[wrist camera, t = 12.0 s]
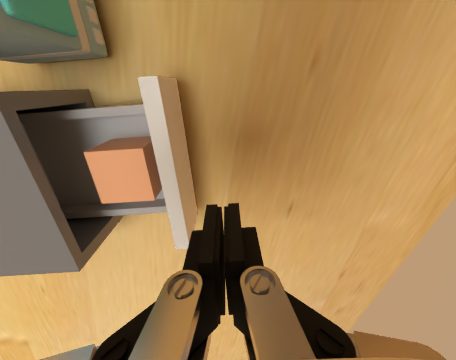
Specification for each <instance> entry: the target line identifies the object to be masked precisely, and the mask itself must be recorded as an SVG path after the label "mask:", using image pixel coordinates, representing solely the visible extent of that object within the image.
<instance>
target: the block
mask: <svg viewBox="0 0 456 360" xmlns="http://www.w3.org/2000/svg"><path fill="white" fill-rule="evenodd" d="M83 153H84V155H85V158H86V161H87V164H88V166H89V169H90V172H91V175H92V177H93V180H94V183H95V186H96V189H97V191H98V194H99V197H100V200H101V202H102V204H106V203H122V202H138V201H154V200H155V199H156V198H157V196H158V194H159V193H160V191H161V190H162V185H161V180H160V176H159V172H158V167H157V163H156V158H155V154H154V149H153V145H152V140H151V136H144V137H130V138H115V139H111V140H109V141H107V142H104V143H102V144H100V145H98V146H96V147H94V148H92V149H89V150H87V151H85V152H83Z"/></svg>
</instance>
